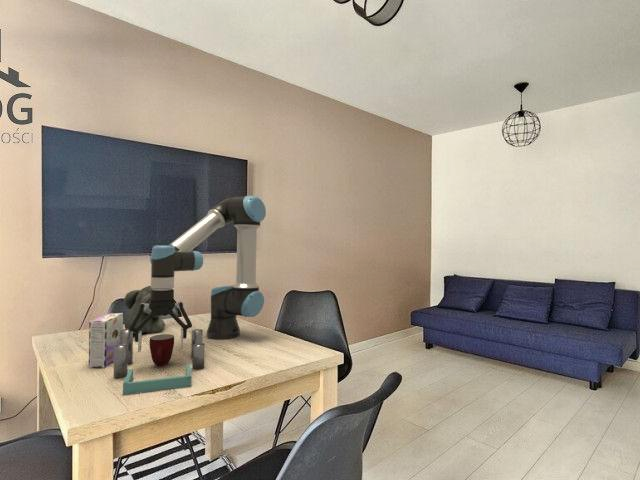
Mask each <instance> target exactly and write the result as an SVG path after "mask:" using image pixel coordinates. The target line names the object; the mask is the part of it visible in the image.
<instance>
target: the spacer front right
mask: <svg viewBox="0 0 640 480" xmlns="http://www.w3.org/2000/svg"><path fill="white" fill-rule="evenodd" d="M128 367H129V365H128V344H118V345H115V346H114V362H113V379H115V380H116V379H117V380H119V379H125V378H126V376H127V373H128V371H129V369H128Z"/></svg>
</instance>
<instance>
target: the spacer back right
mask: <svg viewBox="0 0 640 480" xmlns="http://www.w3.org/2000/svg"><path fill="white" fill-rule="evenodd" d="M120 344H128V366H130V365H132V364H133V363H134V362H133V361H134V360H133V358H134V357H133V354H134V353H133V352H134V351H133V350H134V348H133V347H134V346H133V345H134V335H133V332H132V331H129V329H124V328H123V330H121V331H120Z"/></svg>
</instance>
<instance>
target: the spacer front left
mask: <svg viewBox="0 0 640 480" xmlns="http://www.w3.org/2000/svg"><path fill="white" fill-rule="evenodd" d="M205 346H206V345H205V343H203V342H202V343H197V344H193V345H192V359H191V360H192V361H191V363H192V365H191V366H192V367H191V368H192V369H191V370H195V371H198V370H199V371H200V370H202V369H204V368H205Z"/></svg>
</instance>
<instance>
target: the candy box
mask: <svg viewBox="0 0 640 480" xmlns="http://www.w3.org/2000/svg"><path fill="white" fill-rule="evenodd" d="M88 323H89V327H88V330H89V331H88V333H89V334H88V368H89V369H93V368H94V369H104V368H107V367H108V366H110V365H111V364H114V346H115V345H118V344H120V331H121V330H124V313H123V312H118V313H112V312H111V313H107V314H104V315H101V316H99V317H97V318H94V319H92V320H89V321H88Z"/></svg>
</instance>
